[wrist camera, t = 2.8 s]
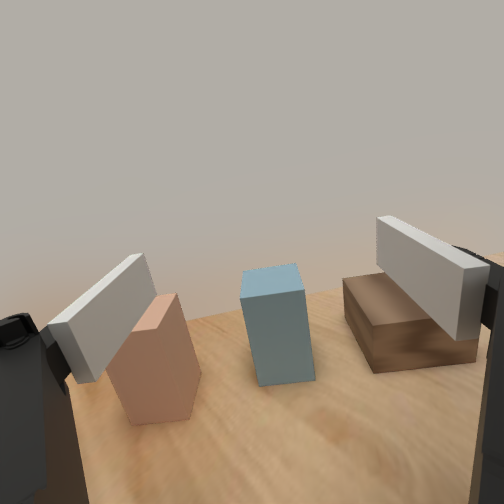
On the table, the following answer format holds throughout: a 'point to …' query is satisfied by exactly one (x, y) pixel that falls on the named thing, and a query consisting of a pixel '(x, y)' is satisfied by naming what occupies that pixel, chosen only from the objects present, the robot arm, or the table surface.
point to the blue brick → (277, 324)
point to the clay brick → (157, 366)
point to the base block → (398, 328)
